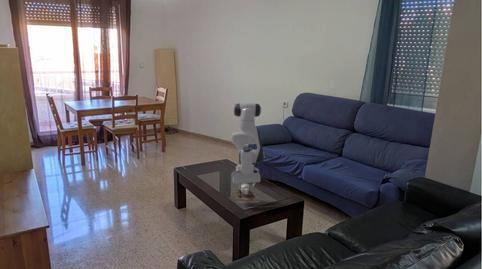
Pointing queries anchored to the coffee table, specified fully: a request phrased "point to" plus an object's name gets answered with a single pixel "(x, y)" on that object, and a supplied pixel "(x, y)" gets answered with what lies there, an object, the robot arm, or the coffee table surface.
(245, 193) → the white capsule with handle
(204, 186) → the coffee table surface
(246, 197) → the cradle board
